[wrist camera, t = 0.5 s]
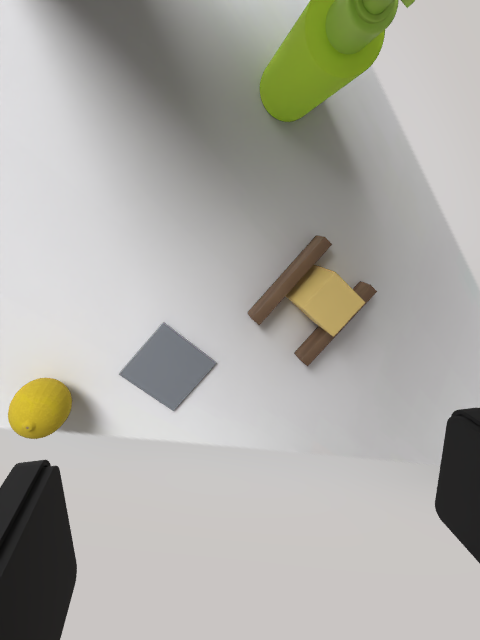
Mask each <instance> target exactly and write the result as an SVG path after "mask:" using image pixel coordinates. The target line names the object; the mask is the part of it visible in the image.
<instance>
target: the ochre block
mask: <svg viewBox="0 0 480 640" xmlns="http://www.w3.org/2000/svg"><path fill="white" fill-rule="evenodd" d="M286 297H287V298H288V299H289V300H290V301H291V302H292V303H293V304H295V305H296V306H297V307H298V308H299V309H300V310H301V311H302V312H303V313H304V314H305V315H307V316H308V317H309V318H310V319H311V320H312V321H313V322H314V323H316V324H317V325H318V326H320V327H321V328H322V329H324V330H325V331H326V332H328V333H329V334H330V335H332V336H333V337H334V336H335V335H336V334H337V333H338V331H339V330H340V329H341V328H342V327H343V326H344V325H345V324H346V323H347V322H348V321H349V320H350V319H351V317H352V316H353V315H354V314H355V313H356V312H357V311H358V310H359V309H360V308H361V307H362V306H363V305H364V303H365V302H364V301H363V299H362V298H361V297H360V296H359V295H358V294H357V293H356V292H355V291H354V290H353V289H352V288H351V287H350V286H349V285H348V284H347V283H346V282H345V281H344V280H343V279H342V278H341V277H340V276H339V275H338V274H337V273H336V272H334V271H331V270H328V269H325V268H323V267H320V266H317V265H313V266H312V267H311V268H310V269H309V270H308V272H307V273H306V274H305V275H304V276H303V277H302V278H301V279H300V280H299V282H298V283H297V284H296V285H295V286H294V287H293V288H292V289H291V290H290V292H289V293H288V294H287V295H286Z"/></svg>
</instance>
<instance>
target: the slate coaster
mask: <svg viewBox="0 0 480 640" xmlns="http://www.w3.org/2000/svg"><path fill="white" fill-rule="evenodd" d="M215 364H216V362H215V361H214V360H213V359H211V358H210V357H209V356H208V355H206V354H205V353H204V352H202V351H201V350H200V349H198V348H197V347H196V346H194V345H193V344H192V343H191V342H189V341H188V340H187V339H185V338H184V337H183V336H181V335H180V334H179V333H178V332H176V331H175V330H174V329H172V328H171V327H170V326H168V325H167V324H166V323H164V322H163V323H162V324H161V326H160V327H159V328H158V329H157V330H156V331H155V333H154V334H153V335H152V336H151V337H150V338H149V339H148V341H147V342H146V343H145V344H144V345H143V346H142V348H141V349H140V350H139V351H138V352H137V353H136V354H135V356H134V357H133V358H132V359H131V360H130V361H129V363H128V364H127V365H126V366H125V367H124V368H123V369H122V371H121V372H120V373H119V375H121V376H122V377H124V378H125V379H127V380H128V381H129V382H131V383H132V384H134V385H135V386H137V387H138V388H140V389H141V390H143V391H144V392H146V393H147V394H149V395H150V396H152V397H153V398H155V399H156V400H158V401H159V402H161V403H162V404H164V405H165V406H167V407H168V408H170V409H171V410H173V411H174V410H175V409H176V408H177V407H178V405H179V404H180V403H181V402H182V401H183V400H184V399H185V398H186V397H187V395H188V394H189V393H190V392H191V391H192V390H193V389H194V388H195V386H196V385H197V384H198V383H199V382H200V381H201V380H202V379H203V378H204V376H205V375H206V374H207V373H208V372H209V371H210V370H211V369H212V368H213V366H214V365H215Z"/></svg>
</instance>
